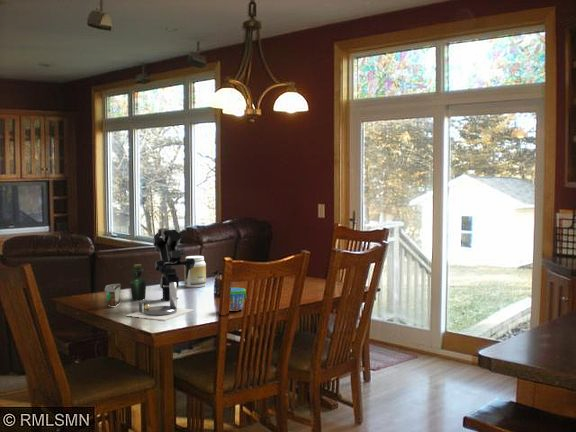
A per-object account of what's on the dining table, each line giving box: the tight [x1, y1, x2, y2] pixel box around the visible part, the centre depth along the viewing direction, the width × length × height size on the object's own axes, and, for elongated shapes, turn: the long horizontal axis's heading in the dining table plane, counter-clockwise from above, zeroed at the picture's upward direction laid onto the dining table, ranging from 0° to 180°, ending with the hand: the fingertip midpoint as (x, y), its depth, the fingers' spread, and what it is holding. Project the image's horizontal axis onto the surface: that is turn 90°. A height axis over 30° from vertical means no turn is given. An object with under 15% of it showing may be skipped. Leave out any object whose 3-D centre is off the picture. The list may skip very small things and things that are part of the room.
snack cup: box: [230, 287, 247, 310], centre depth 303 cm, size 16×10×10 cm
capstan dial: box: [143, 282, 178, 315], centre depth 299 cm, size 15×15×13 cm
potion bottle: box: [129, 263, 147, 301], centre depth 333 cm, size 8×8×18 cm
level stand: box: [125, 299, 195, 322], centre depth 299 cm, size 22×22×5 cm
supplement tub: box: [183, 255, 207, 289], centre depth 370 cm, size 12×12×17 cm
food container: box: [104, 283, 122, 306], centre depth 318 cm, size 12×6×10 cm, turn 1°
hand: (177, 279), depth 311 cm, fingers open, 9 cm apart
